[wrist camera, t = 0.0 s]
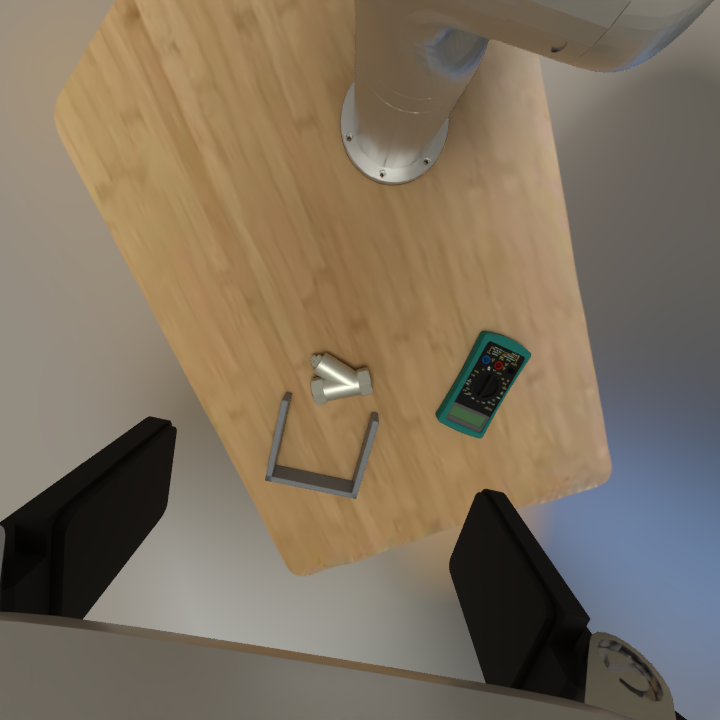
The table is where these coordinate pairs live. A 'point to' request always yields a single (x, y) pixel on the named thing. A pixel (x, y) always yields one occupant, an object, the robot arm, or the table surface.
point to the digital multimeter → (483, 384)
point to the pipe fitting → (337, 380)
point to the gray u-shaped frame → (313, 479)
